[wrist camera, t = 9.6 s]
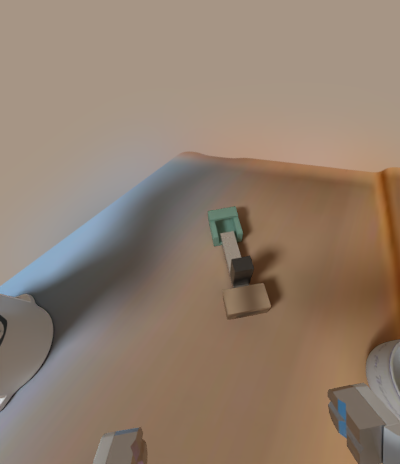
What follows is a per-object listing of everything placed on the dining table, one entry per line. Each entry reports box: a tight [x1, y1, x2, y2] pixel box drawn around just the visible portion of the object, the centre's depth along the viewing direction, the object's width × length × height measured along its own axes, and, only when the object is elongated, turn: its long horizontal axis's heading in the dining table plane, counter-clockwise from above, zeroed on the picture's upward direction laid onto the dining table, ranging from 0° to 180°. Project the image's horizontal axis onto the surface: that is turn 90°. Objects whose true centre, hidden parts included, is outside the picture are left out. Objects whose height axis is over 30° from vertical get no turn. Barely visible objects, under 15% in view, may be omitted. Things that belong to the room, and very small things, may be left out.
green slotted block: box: [208, 206, 243, 246], centre depth 47 cm, size 6×7×4 cm
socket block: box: [223, 283, 271, 320], centre depth 37 cm, size 7×4×4 cm, turn 99°
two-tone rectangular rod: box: [220, 231, 254, 288], centre depth 39 cm, size 3×15×9 cm, turn 9°
